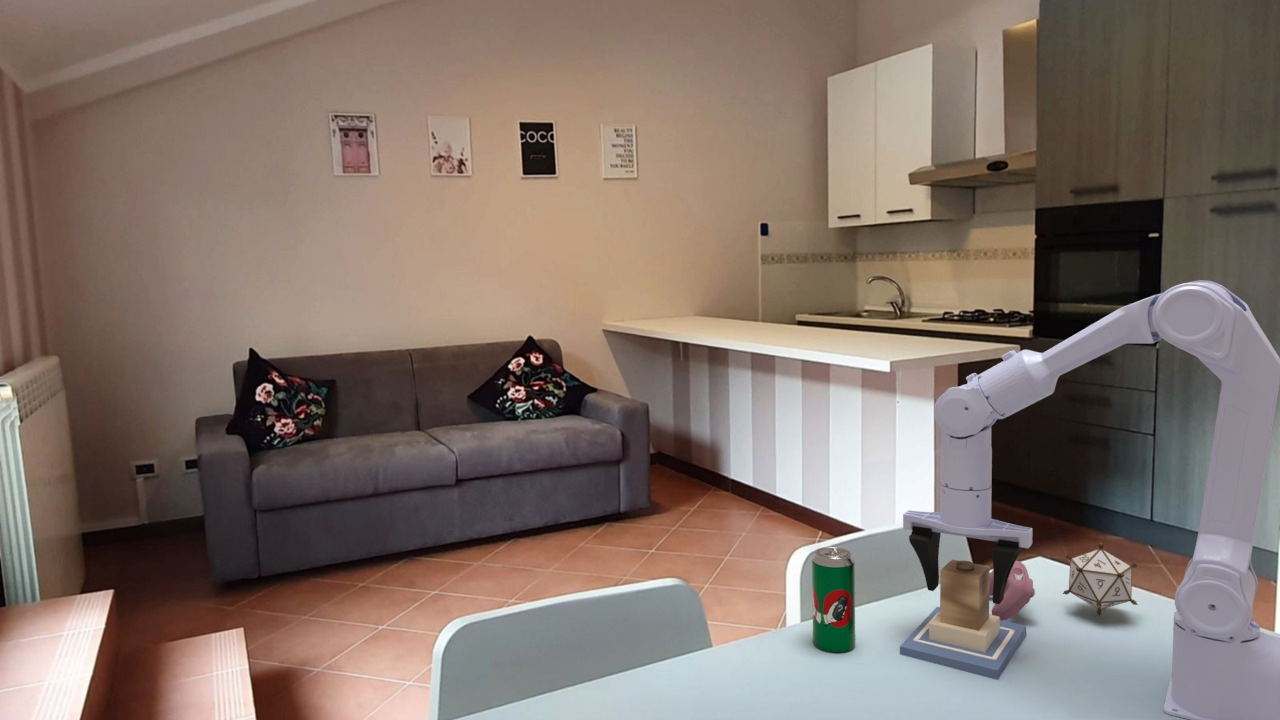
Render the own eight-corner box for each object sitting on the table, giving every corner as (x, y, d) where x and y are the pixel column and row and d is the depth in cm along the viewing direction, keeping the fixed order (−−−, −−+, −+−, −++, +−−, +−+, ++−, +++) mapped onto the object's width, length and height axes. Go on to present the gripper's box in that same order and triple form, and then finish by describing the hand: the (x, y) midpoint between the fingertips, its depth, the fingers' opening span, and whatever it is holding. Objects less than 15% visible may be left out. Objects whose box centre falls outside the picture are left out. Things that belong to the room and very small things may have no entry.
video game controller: (1027, 632, 106) (1044, 581, 105) (990, 620, 107) (1007, 570, 105) (1009, 601, 115) (1024, 555, 114) (975, 591, 116) (991, 545, 115)
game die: (1137, 635, 102) (1140, 556, 101) (1060, 622, 107) (1062, 547, 106) (1136, 609, 110) (1138, 536, 109) (1064, 598, 114) (1066, 527, 113)
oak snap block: (989, 617, 101) (989, 561, 101) (978, 630, 98) (979, 572, 97) (951, 609, 104) (951, 554, 103) (940, 622, 101) (940, 565, 100)
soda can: (863, 647, 102) (863, 552, 100) (838, 660, 98) (837, 562, 97) (829, 634, 105) (828, 542, 104) (804, 647, 102) (803, 552, 101)
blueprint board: (1026, 634, 104) (1026, 610, 103) (997, 680, 92) (997, 653, 92) (936, 615, 110) (936, 592, 110) (899, 655, 99) (899, 630, 99)
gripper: (1038, 485, 98) (1037, 595, 99) (916, 470, 107) (916, 573, 108) (1025, 499, 92) (1023, 616, 94) (897, 482, 101) (897, 590, 103)
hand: (964, 594), depth 101 cm, fingers open, 7 cm apart
